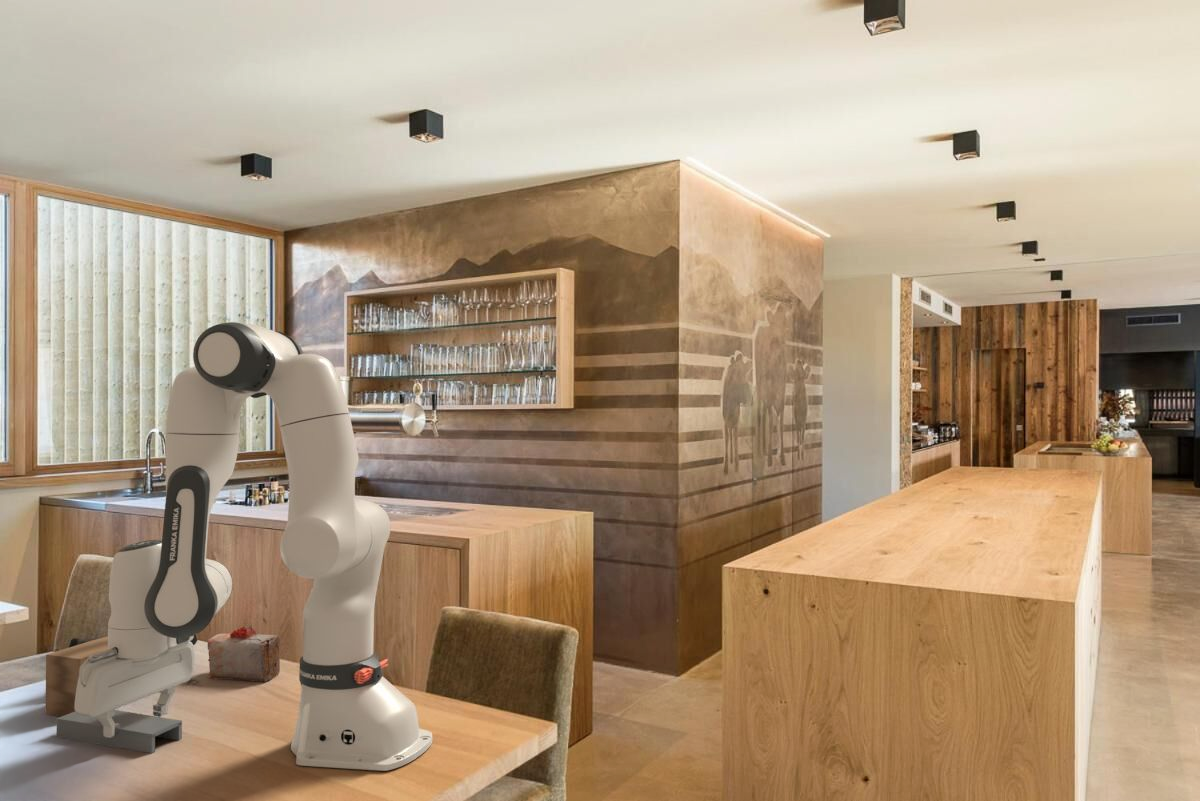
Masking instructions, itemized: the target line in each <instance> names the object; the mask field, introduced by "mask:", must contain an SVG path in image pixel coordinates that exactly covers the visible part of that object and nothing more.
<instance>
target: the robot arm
mask: <svg viewBox="0 0 1200 801" xmlns="http://www.w3.org/2000/svg"><path fill="white" fill-rule="evenodd" d="M192 351H193V353H192V358H193V359H192V360H193V364H194V366H192V367H189V368H185V369H183V370H182V371H180V372H179V373H177V375H176V377H175V378H174V379H173V380H174V381H173V384H172V387H171V391H170V396H169V400H168V406H167V413H166V420H165V422H166V423H165V448H164V449H165V452H164V453H165V472H166V473H165V504H164V513H163V526H162V535H161V537H162V538H161V539H149V540H143V541H139V542H136V543H132V544H131V543H130V544H128V545H126V546H124V547H122V548H121V549H119V550H118V551H117V552H116V553H115V554H114V556H113V559H112V563H111V566H110V567H111V569H110V574H109V585H108V587H109V588H108V600H109V604H110V616H109V619H108V622H107V623H108V624H107V635H108V650H106V651H103V652H101V653H98V654H93V655H91V656H89V657H88V659H87V660H86V661H85V662H84V663H83V664H82V665H81V667H80V671H79V679H78V683H77V689H76V695H75V706H74V708H75V711H76V712H77V713H78V714H79V715H82V716H86V717H96V716H97V718H98V719H99V721H100V722H101V724H102V725H103V735H104V736H105V737H108V738H111V737H113V736H115V735H118V734H119V733H120V730H119V728H120V724H119V723H114V721H113V719H112V718H111V716H114V715H115V710H118V709H120V708H122V707H124V706H127V705H129V704H131V703H134V702H137V701H139V700H142V699H144V698H148V697H150V696H153V695H155V694H158V693H160V694H159V697H158V700H157V702H156V703H155V704H153V706H152V710H153V711H152V714H153V715H152V716H156V717H163V716H165V715H167V714H168V713H169V704H170V702H171V700H172V698H173V696H174V693H175V690H176V689H175V686H178V685H181V684H183V683H185V682H188V681H190V680H191V678H192V676H193V675H194V673H195V645H193V644H192V642H190V641H191V640H192V639H193V637H194V635H196V636H197V635H199V633H201V632H202V631H204V630H205V629H206V628H207V627H208V626H209V625H210V623H211V621H212V620H213V618H214V617H215V615H216V614H217V613H218V612H219V611H220V610H221V609H222V607H223V606H224V605H225V604H226V602H228V600H229V599H230V596H231V595H232V592H233V588H234V587H233V586H234V583H233V577H232V573H231V572H230V570H229V569H228V567H226V566H225V565H224V564H223V563H221V562H220V561H218V560H215V559H212V558H207V548H208V547H207V545H208V535H209V522H210V516H211V510H212V508H213V505H214V504H215V503H214V502H215V501H216V499H217V497H218V495H219V494H220V492H221V491H222V489H223V487H224V486H225V485H226V484H227V482H228V481H229V479H230V478H231V477H232V475H233V473H234V470H235V466H236V462H237V457H238V452H239V446H240V445H239V442H240V416H241V409H242V406H243V403H244V402H245V401H246V400H247V399H248V398H249V397H251V398H253V399H258V398H261V397H264V396H268V397H270V399H271V401H272V403H273V404H274V408H275V410H276V414H277V419H278V420H277V421H278V424H279V426H278V427H279V430H280V437H281V440H282V446H283V450H284V456H285V460H286V465H287V472H288V486H289V487H288V492H289V494H288V513H287V522H286V527H285V528H284V530H283V533H282V536H281V538H280V546H279V549H280V556H281V559H282V561H283V563H284V565H285V566H286V568H287V569H288V570H289V571H290V572H292V574H294V575H296V576H298V577H300V578H303V579H309V580H310V579H313V583H312V586H311V590H310V593H309V596H308V598H307V600H306V602H305V604H304V608H303V612H302V655H301V657H300V658H299V671H298V672H299V677H298V678H299V679H298V680H299V683H300V686H301V687H300V689H301V691H300V700H299V701H300V702H299V708H298V715H297V722H296V725H295V729H294V735H293V738H292V742H291V744H290V750H291V751H292V753H293V754H294V755H295V756H296V757H295V763H296V765H297V766H301V767H302V766H305V767H318V768H335V769H351V770H363V771H364V770H365V771H367V770H368V771H382V772H383V771H385V772H386V771H390V770H394V769H398V768H400V767H402V766H404V765H407V764H409V763H411V762H412V761H414V760H416V759H417V758H419V757H420V756H421V755H423V754H424V753H425V752H426V751H428V749H429V748H430V747H431V745H432V743H433V741H434V740H433V733H432V731H429V730H427V729H423V728H420V726H419V717H418V712H417V708H416V706H415V704H414V703H413V701H411V700H410V699H409V698H408V697H407V696H406V695H405V694H403V693H402V692H401V691H400V690H398V689H397V687H395V685H393V684H392V683H391V682H390V681H388V680H387V679H386V678H385V677H384V672H383V670H382V669H384V668H385V667H387V666H388V665H389V664H388V663H387V662H388V661H389V658H385V659H384V660H381V661H379V658H378V656H377V653H376V651H375V650H374V641H375V640H374V636H375V634H374V633H375V632H374V630H375V606H376V605H375V604H376V596H377V591H378V585H379V582H380V581H379V580H380V574H381V568H382V564H383V558H384V557H383V556H384V552H385V549H386V545H387V542H388V540H389V538H390V535H391V530H392V529H391V521H390V518H389V515H388V514H387V512H386V510H385V509H384V508H383V507H382V506H380V505H379V504H377V503H376V502H373V501H369V500H367V499H361V498H360V499H359V498H356V495H355V493H356V486H355V485H356V473H357V468H358V466H359V462H360V461H359V459H360V456H359V453H358V448H357V443H356V440H355V439H356V438H355V434H354V430H353V429H354V428H353V425H352V420H351V414H350V410H349V407H348V403H347V398H346V396H345V393H344V392H345V391H344V389H343V387H342V383H341V381H340V378H339V376H338V373H337V372H336V369H335V367H334V364H333V363H332V362H331V360H329V359H328V358H326V357H324V356H323V355H319V354H314V353H304V352H303V349H302V347H301V346H300V344H299V343H298V342H297V341H296V340H295V339H293V337H291V336H289V335H287V333H284V332H281V331H277V330H273V329H270V328H269V329H268V328H267V327H264V326H261V325H258V324H251V323H241V322H235V321H229V322H228V321H227V322H221V323H217V324H214V325H212V326H211V327H208V328H206V329H205V330H204V331H202V333H201V334H200V335H199V336H198V338H197V340H196V341H195V344H194V347H193V350H192ZM88 662H89V663H88Z"/></svg>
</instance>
